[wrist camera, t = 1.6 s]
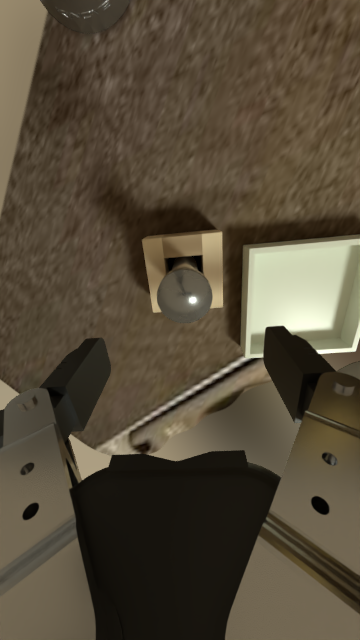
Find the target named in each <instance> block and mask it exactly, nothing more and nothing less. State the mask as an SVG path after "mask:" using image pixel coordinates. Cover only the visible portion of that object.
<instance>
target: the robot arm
mask: <svg viewBox="0 0 360 640" xmlns="http://www.w3.org/2000/svg"><path fill="white" fill-rule="evenodd" d="M40 1H41V2H42V4H43V5H44V6H45V8H46V9H47V10H48V12H49V13H50V14H51V15H52V16H53V17H54V18H55V19H57V20H58V21H59V22H60V23H61V24H63V25H64V26H66V27H68V28H69V29H71V30H74V31H77V32H80V33H97V32H100V31H103V30H106V29H107V28H109V27H110V26H111V25H113V24H114V23H116V21H117V20H118V19H119V18H120V17H121V15H122V14H123V13H124V11H125V9H126V8H127V6H128V4H129V2H130V0H40ZM263 359H264V364H265V367H266V369H267V371H268V373H269V375H270V377H271V379H272V381H273V383H274V384H275V386H276V388H277V390H278V392H279V394H280V396H281V398H282V400H283V402H284V404H285V405H286V407H287V409H288V411H289V413H290V415H291V417H292V419H293V421H294V423H301V424H300V427H299V430H298V433H297V435H296V438H295V441H294V444H293V446H292V449H291V452H290V455H289V458H288V460H287V463H286V466H285V469H284V472H283V474H282V477H280V476H278V475H277V474H275V473H273V472H272V471H270V470H268V469H266V468H264V467H262V466H258V465H256V464H253V463H249V462H247V459H246V455H245V451H244V450H242V451H241V450H240V451H215V452H214V451H212V452H208V453H205V454H201V455H198V456H194V457H191V458H188V459H185V460H182V461H171V460H167V459H163V458H158V457H154V456H150V455H146V454H129V455H112V457H111V461H110V464H109V467H107V468H104V469H102V470H100V471H97V472H95V473H94V474H92V475H90V476H88V477H87V478H85V479H84V480H82V479H81V476H80V473H79V469H78V466H77V462H76V459H75V456H74V453H73V449H72V446H71V442H70V440H69V438H68V437H69V435H70V433H71V432H74V431H83V430H84V428H85V426H86V424H87V422H88V420H89V418H90V416H91V414H92V412H93V409H94V407H95V405H96V403H97V401H98V399H99V397H100V395H101V393H102V391H103V388H104V386H105V384H106V382H107V380H108V378H109V376H110V372H111V365H110V360H109V357H108V353H107V349H106V346H105V342H104V340H103V338H90V339H85V340H84V342H83V343H82V344H81V345H80V347H79V348H78V349H75V350H74V351H72V352H71V353H70V354H68V355H67V356H66V357H65V358H64V359H63V360H62V362H61V364H59V365H58V366H57V368H56V369H55V370H54V371H53V372H52V373H51V375H50V376H49V377H48V378H47V379H46V380H45V382H44V383H43V384H42V385H41V386H40V387H39V388H36V389H31V390H28V391H26V392H23V393H21V394H20V395H18V396H16V397H15V398H14V399H12V400H11V401H10V402H9V403H8V404H7V406H6V407H5V409H4V410H0V640H360V380H359V379H358V378H356V377H354V376H351V375H348V374H345V373H341V372H336V371H335V370H334V369H333V368H332V367H331V366H330V364H329V363H327V361H326V360H325V359H324V358H322V356H321V355H320V354H318V352H317V351H316V350H315V349H314V348H313V347H312V346H311V345H310V344H309V343H308V342H307V341H306V340H305V339H303V338H301V337H299V336H297V335H292V334H291V333H290V332H289V331H288V330H287V329H286V328H285V326H269V327H266V329H265V338H264V351H263Z"/></svg>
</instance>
